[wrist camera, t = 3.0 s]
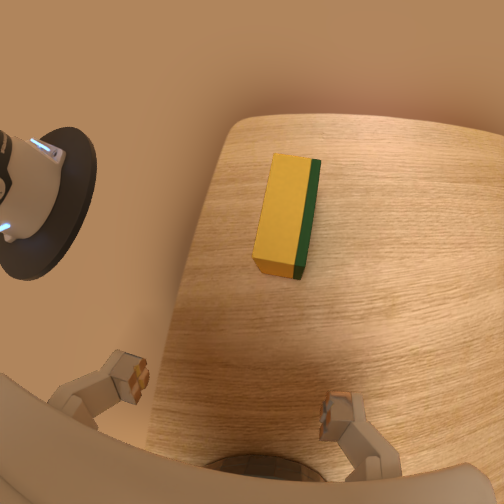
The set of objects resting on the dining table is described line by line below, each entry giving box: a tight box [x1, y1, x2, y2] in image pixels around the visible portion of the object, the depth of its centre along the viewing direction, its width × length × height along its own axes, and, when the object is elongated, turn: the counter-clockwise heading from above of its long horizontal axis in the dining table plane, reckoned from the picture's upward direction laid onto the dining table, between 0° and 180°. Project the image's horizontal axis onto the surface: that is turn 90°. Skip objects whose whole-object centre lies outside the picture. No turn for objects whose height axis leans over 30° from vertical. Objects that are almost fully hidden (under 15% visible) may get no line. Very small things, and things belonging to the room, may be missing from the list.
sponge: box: [252, 153, 321, 280], centre depth 25 cm, size 4×9×8 cm, turn 168°
